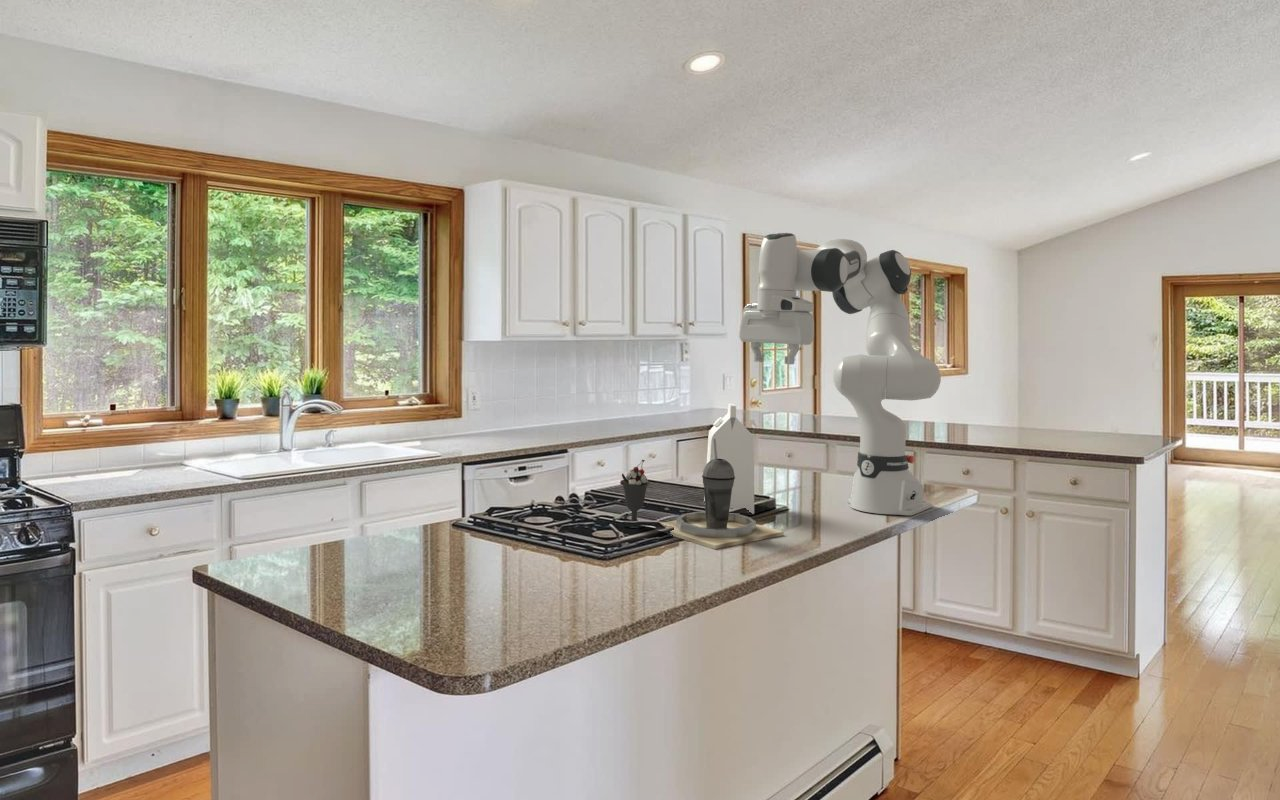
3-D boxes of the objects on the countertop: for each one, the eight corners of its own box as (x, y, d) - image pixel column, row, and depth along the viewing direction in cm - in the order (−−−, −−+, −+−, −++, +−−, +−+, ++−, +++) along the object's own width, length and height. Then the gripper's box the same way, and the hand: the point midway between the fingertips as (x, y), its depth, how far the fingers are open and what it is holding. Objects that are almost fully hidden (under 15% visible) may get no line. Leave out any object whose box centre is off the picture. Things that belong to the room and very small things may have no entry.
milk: (754, 513, 210) (758, 407, 208) (706, 512, 210) (710, 406, 208) (748, 503, 222) (752, 402, 220) (704, 502, 222) (707, 401, 220)
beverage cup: (734, 532, 188) (738, 441, 186) (701, 531, 188) (704, 440, 186) (731, 524, 195) (734, 437, 193) (699, 523, 195) (702, 436, 193)
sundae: (653, 524, 196) (655, 459, 195) (641, 531, 190) (642, 463, 189) (627, 521, 199) (629, 456, 198) (614, 527, 193) (615, 460, 192)
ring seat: (716, 516, 206) (716, 505, 206) (783, 535, 190) (784, 523, 190) (649, 528, 193) (649, 516, 193) (714, 549, 177) (715, 536, 176)
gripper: (734, 302, 206) (732, 360, 207) (801, 303, 190) (798, 365, 192) (752, 303, 210) (750, 360, 211) (819, 304, 194) (816, 365, 196)
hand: (773, 363), depth 201 cm, fingers open, 8 cm apart
